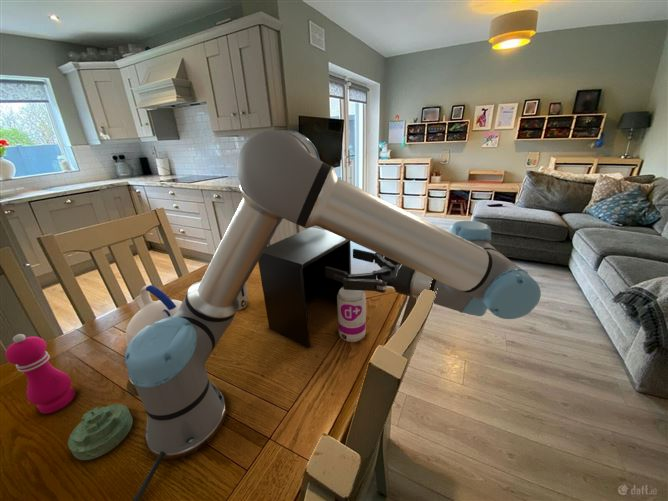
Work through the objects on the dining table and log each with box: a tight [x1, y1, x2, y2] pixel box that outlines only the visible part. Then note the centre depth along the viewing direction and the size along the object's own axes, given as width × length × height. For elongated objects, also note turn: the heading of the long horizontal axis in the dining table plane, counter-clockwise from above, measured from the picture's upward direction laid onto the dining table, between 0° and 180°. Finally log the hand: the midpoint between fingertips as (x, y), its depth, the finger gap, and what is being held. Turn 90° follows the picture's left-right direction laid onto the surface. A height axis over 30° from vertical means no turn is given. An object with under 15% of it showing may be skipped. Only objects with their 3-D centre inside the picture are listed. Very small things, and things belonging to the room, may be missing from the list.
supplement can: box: [336, 287, 367, 343], centre depth 81 cm, size 8×8×15 cm
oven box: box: [257, 227, 352, 349], centre depth 87 cm, size 17×24×27 cm
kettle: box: [124, 284, 183, 348], centre depth 83 cm, size 20×21×18 cm
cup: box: [237, 282, 248, 311], centre depth 98 cm, size 8×8×10 cm
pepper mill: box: [4, 333, 76, 415], centre depth 62 cm, size 7×7×20 cm
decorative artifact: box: [67, 403, 134, 461], centre depth 56 cm, size 10×7×10 cm
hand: (340, 261), depth 76 cm, fingers open, 13 cm apart
